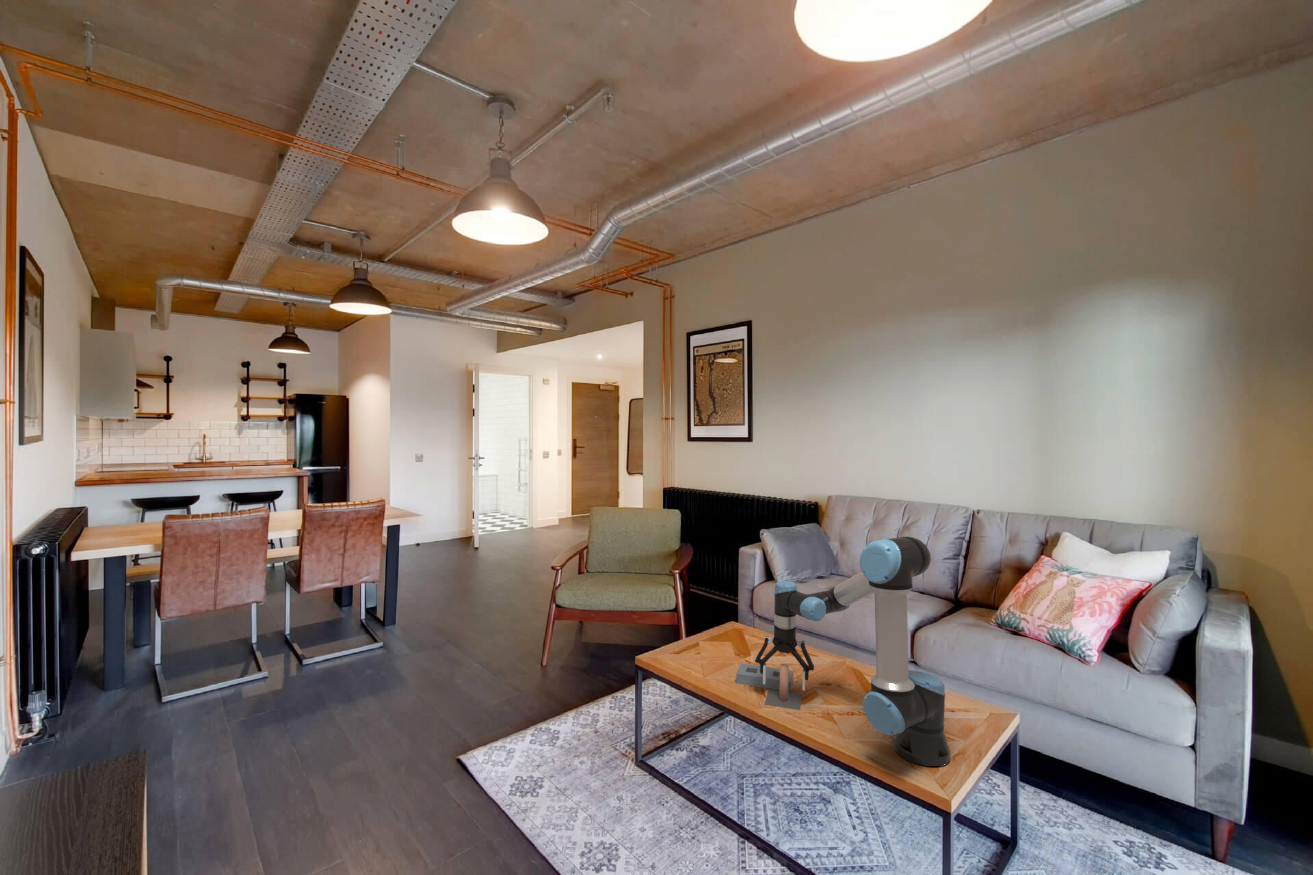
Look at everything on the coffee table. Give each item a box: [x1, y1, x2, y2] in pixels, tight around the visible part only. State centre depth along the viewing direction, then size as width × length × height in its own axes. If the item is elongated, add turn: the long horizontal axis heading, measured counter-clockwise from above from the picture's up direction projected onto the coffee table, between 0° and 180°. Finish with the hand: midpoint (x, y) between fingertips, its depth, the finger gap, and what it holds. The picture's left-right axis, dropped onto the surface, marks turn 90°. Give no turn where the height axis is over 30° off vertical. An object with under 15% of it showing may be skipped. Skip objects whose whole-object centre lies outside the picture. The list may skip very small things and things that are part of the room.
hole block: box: [735, 662, 794, 693], centre depth 213 cm, size 10×20×4 cm, turn 72°
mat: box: [764, 688, 803, 711], centre depth 199 cm, size 12×12×1 cm
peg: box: [778, 663, 790, 701], centre depth 199 cm, size 3×3×12 cm
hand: (783, 685), depth 199 cm, fingers open, 13 cm apart
